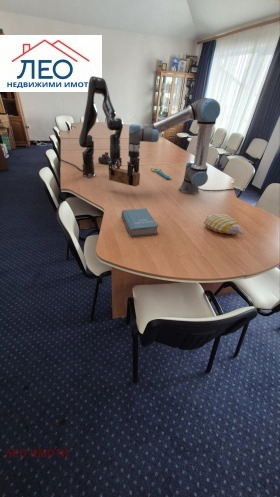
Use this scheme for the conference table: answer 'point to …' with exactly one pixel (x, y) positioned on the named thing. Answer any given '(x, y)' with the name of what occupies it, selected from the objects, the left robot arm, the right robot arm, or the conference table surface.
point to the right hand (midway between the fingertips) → (132, 183)
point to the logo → (160, 173)
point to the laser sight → (104, 158)
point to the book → (139, 222)
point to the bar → (124, 176)
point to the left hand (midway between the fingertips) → (115, 173)
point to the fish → (223, 224)
